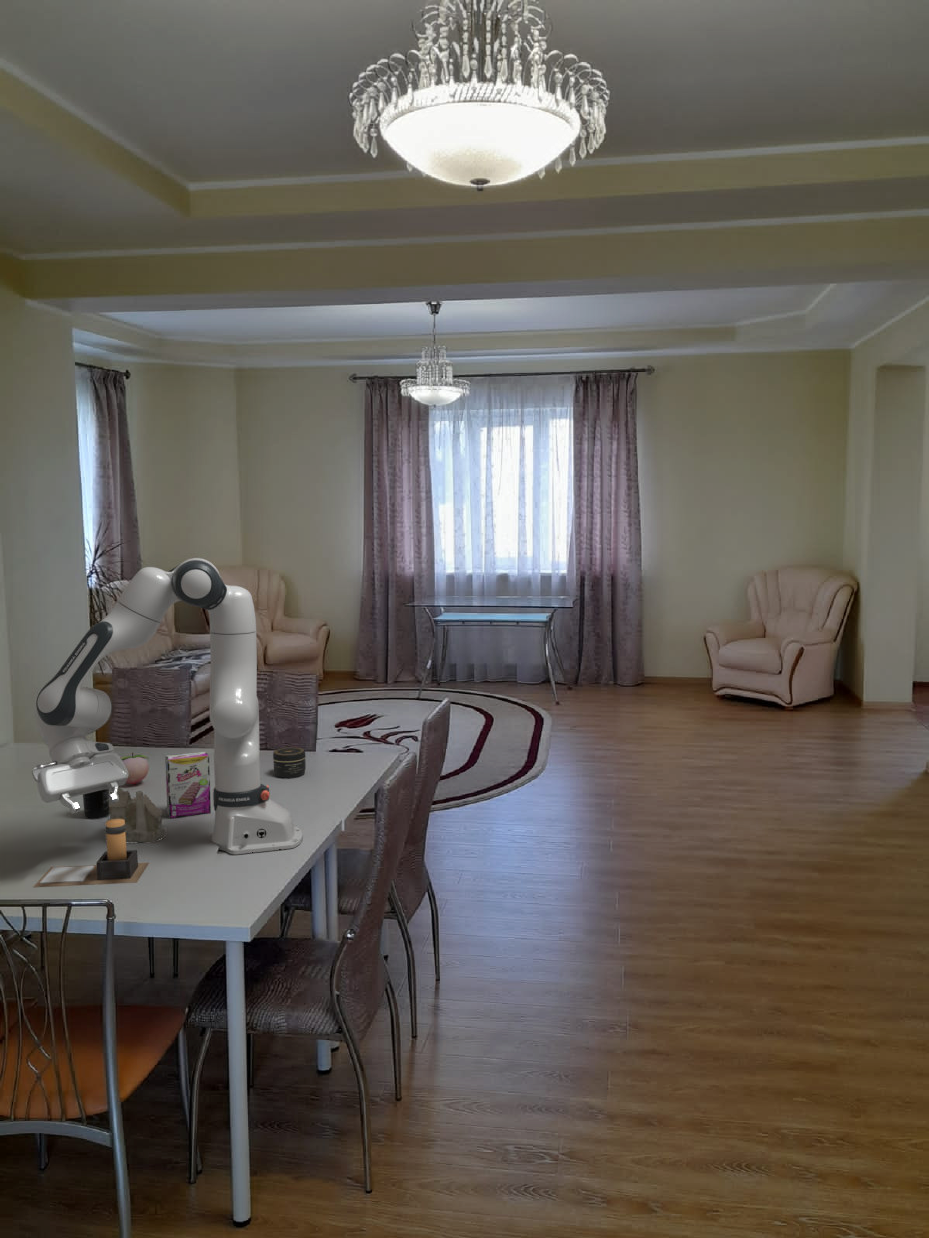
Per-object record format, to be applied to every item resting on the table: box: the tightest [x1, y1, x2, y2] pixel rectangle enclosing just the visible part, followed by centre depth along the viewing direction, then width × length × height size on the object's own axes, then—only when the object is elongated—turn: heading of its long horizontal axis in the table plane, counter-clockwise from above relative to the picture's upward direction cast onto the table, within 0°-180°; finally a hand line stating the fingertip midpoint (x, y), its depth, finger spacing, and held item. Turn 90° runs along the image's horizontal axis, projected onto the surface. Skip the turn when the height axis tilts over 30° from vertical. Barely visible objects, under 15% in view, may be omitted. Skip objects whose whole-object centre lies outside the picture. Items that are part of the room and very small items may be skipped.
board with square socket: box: [33, 849, 150, 888], centre depth 219 cm, size 22×12×6 cm, turn 95°
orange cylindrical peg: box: [105, 819, 127, 861], centre depth 219 cm, size 4×4×12 cm
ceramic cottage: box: [105, 786, 167, 843], centre depth 251 cm, size 16×16×15 cm
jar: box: [272, 746, 307, 780], centre depth 304 cm, size 10×10×8 cm
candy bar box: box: [164, 751, 212, 819], centre depth 266 cm, size 11×5×16 cm, turn 115°
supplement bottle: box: [82, 789, 110, 820], centre depth 266 cm, size 7×7×12 cm
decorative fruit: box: [120, 752, 150, 786], centre depth 295 cm, size 9×8×10 cm
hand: (96, 806), depth 224 cm, fingers open, 8 cm apart
